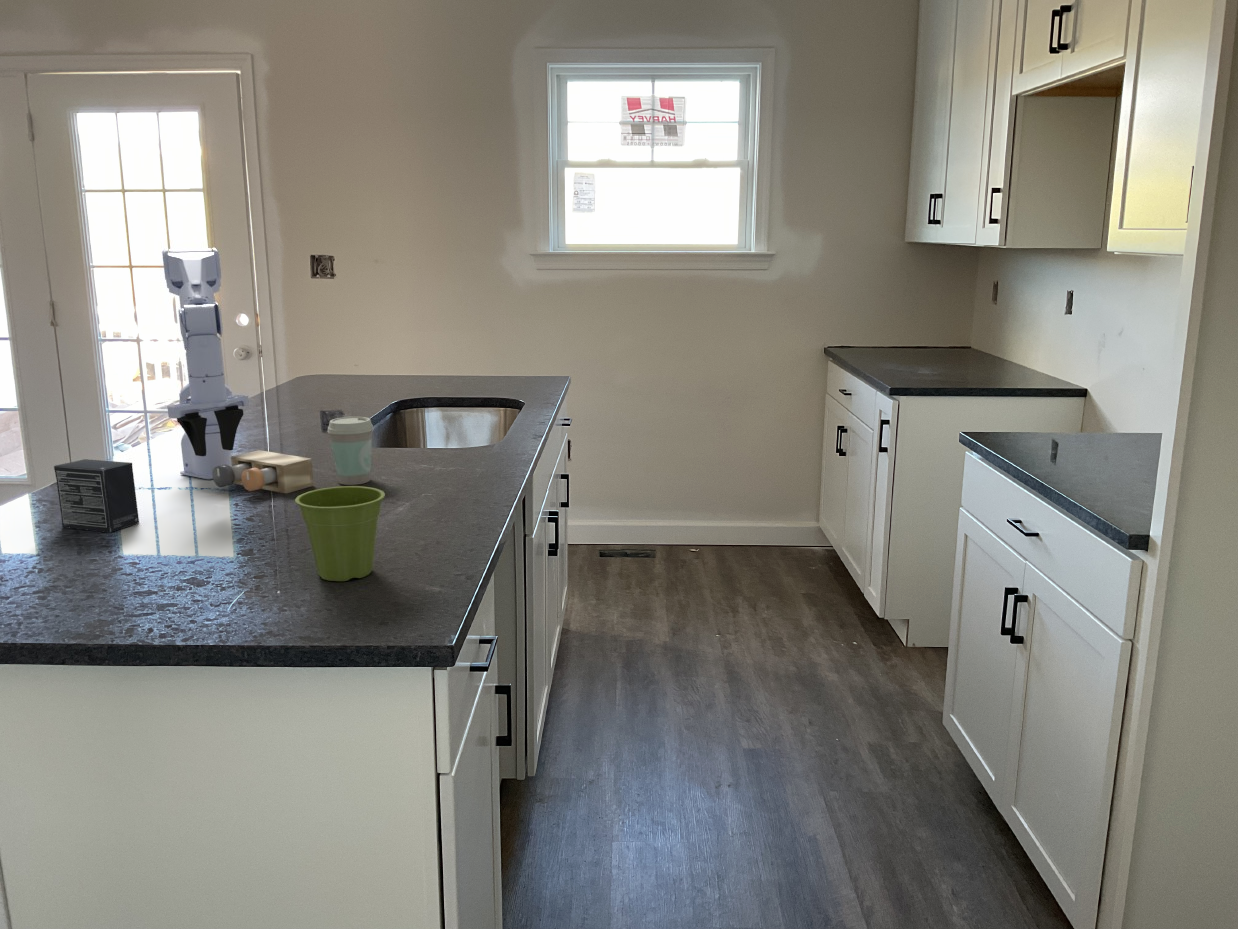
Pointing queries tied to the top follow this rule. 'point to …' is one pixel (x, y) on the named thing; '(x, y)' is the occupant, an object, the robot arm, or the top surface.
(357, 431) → the coffee cup
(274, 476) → the orange knob
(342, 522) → the plant pot
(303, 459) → the mount
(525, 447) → the top surface
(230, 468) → the charcoal knob
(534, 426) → the top surface
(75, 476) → the small box
